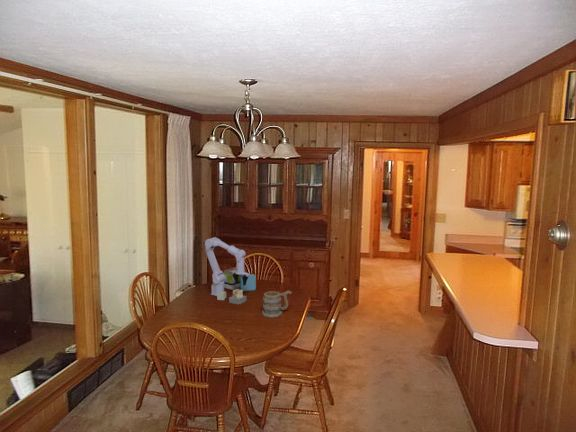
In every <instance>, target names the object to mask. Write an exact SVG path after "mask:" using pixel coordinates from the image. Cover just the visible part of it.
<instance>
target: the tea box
mask: <svg viewBox="0 0 576 432" xmlns="http://www.w3.org/2000/svg"><path fill="white" fill-rule="evenodd" d="M232 271H237V266H236V267H232V268H228V269H223V274H224V275H225V276H226V279H225V281H224V289H228V290H231V291H233V290H236V289H240V276H241V275H239V277H238V283H237V284H236V283H235V280H234V277H233V276H232V275H233V274H232ZM244 272H246V268H244Z"/></svg>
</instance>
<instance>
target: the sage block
mask: <svg viewBox="0 0 576 432" xmlns="http://www.w3.org/2000/svg"><path fill="white" fill-rule="evenodd" d="M226 293H227V291H225V290H224V291H219V292H218V293H217V296H216V298H217V299H216V300H218V301H225V298H226V299H227V294H226Z"/></svg>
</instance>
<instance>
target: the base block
mask: <svg viewBox="0 0 576 432" xmlns="http://www.w3.org/2000/svg"><path fill="white" fill-rule="evenodd" d="M246 302H247V295H243V297H241V298H234V297H233V295H232V296H230V297H228V303H229V304H234V305H239V304H240V305H242V304H243V303H246Z"/></svg>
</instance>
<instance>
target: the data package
mask: <svg viewBox="0 0 576 432" xmlns="http://www.w3.org/2000/svg"><path fill="white" fill-rule="evenodd" d="M242 276H244V275H241V276H240V287H239V289H240V290H243V292H248V291H256V290H257V277H256V275H255V274H254V273H253V274H252V273H251V274H250V273H249V277H248V279H247V282H246V285H243V279H242Z"/></svg>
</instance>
